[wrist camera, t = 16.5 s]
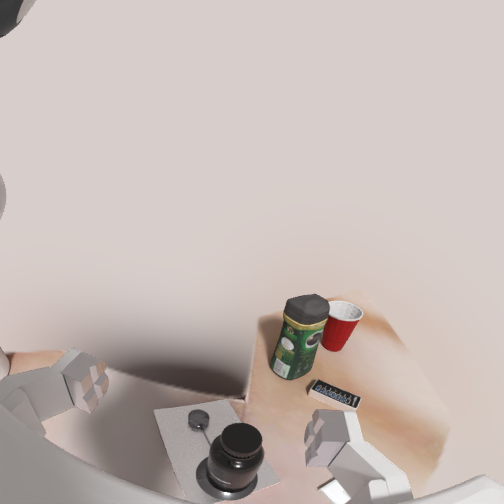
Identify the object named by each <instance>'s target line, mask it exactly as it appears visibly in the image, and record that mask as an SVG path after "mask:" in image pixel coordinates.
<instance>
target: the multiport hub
mask: <svg viewBox="0 0 504 504" xmlns="http://www.w3.org/2000/svg"><path fill="white" fill-rule="evenodd" d="M308 396H309V397H312V398H314V399H316V400H318V401H320V402H323V403H325V404H327V405H329V406H332V407H334V408H336V409H339V410H354V411H356V410H357V408H358V406H359V404H360V401H361V399H362V398H361V397H360V396H357V395H355V394H352V393H350V392H347V391H345V390H343V389H340V388H338V387H336V386H333V385H331V384H329V383H326V382H324V381H322V380H320V379H317V380H316V382H315V383H314V384H313V386H312V387H311V388H310V391H309V393H308Z"/></svg>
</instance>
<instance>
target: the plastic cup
mask: <svg viewBox="0 0 504 504" xmlns="http://www.w3.org/2000/svg"><path fill="white" fill-rule="evenodd" d="M329 305H330V311H329V316H328V319H327V322H326V324H325V326H324V332H323V334H324V335H323V341H322V342H323V343H322V344H323V347H324V348H326V349H327V350H330V351H335V352H337V351H340V350H341V349H342V348H343V346H344V344H345V343H346V341H347V340H348V338H349V337H350V335H351V333H352V331H353V330H354V328H355V326H356V325H357V323H358V321H359V320H360V319H361V318H362V316H363V311H362V310H361V308H359V307H358V306H356V305H354V304H352V303H349V302H345V301H329Z"/></svg>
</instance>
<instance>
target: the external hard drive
mask: <svg viewBox="0 0 504 504" xmlns="http://www.w3.org/2000/svg"><path fill="white" fill-rule="evenodd" d="M318 491H319V492H320V493H321V494H322V495H323V496H324V497H325V498H326V499H327V500H328V501H329V502H330V503H331V504H345V503H346V502H347V501H348V500H350V499H351V498H350V496H349V495H348V494H347V493H346V491H345V490H344V489H343V488H342V486H341V485H340V484H339V483H338V481H337V480H336V479H335V480H333V481H331V482H330V483H328V484H327V485H325V486H323V487H322V488H320V489H319V490H318Z"/></svg>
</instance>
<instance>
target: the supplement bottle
mask: <svg viewBox="0 0 504 504" xmlns="http://www.w3.org/2000/svg"><path fill="white" fill-rule="evenodd" d="M263 459H264V449H263V447H262V436H261V434H260V432H259V431H258V430H257V429H256V428H255V427H253V426H252V425H249V424H245V423H232V424H231V425H228V426H226V428H224V430H223V431H222V434H221V435H219V436H217V437H216V438H215V439H214V440H213V442H212V443H211V446H210V450H209V456H208V462H207V468H206V477H207V480H208V481H209V483H210V484H211V485H212V486H213V487H214V488H216V489H217V490H219V491H222V492H225V493H237V492H241V491H243V490H245V489H247V488H248V487H249V486H250V484H251V483H252V481H253V479H254V478H255V476H256V474H257V472H258V470H259V468H260V466H261V464H262V462H263Z"/></svg>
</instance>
